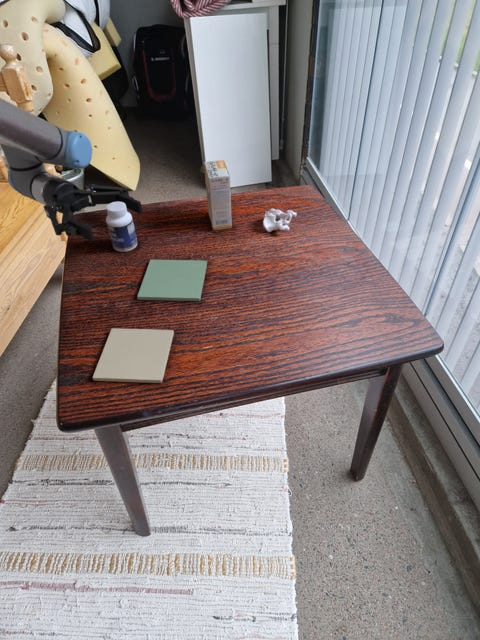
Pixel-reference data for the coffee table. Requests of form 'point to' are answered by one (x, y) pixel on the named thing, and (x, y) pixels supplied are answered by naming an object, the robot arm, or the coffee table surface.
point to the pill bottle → (121, 227)
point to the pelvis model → (270, 221)
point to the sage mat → (173, 280)
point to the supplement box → (218, 194)
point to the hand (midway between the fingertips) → (117, 221)
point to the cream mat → (134, 356)
